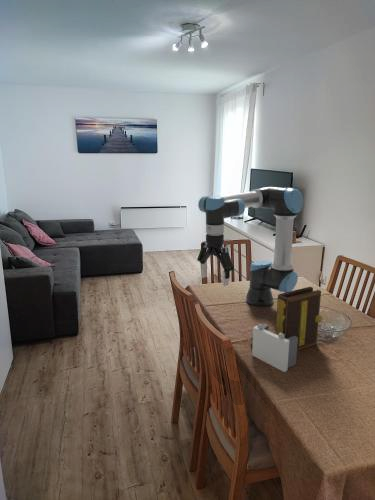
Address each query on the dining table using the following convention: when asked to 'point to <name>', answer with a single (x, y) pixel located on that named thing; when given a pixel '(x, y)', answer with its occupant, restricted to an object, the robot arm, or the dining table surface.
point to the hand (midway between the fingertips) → (214, 281)
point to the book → (299, 316)
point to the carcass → (274, 348)
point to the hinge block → (252, 340)
